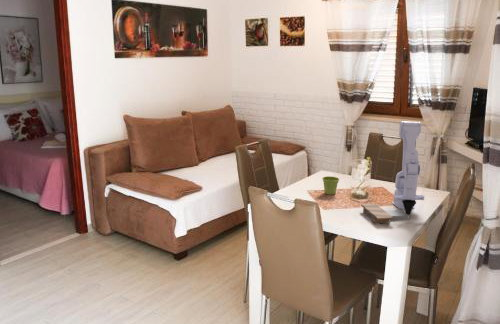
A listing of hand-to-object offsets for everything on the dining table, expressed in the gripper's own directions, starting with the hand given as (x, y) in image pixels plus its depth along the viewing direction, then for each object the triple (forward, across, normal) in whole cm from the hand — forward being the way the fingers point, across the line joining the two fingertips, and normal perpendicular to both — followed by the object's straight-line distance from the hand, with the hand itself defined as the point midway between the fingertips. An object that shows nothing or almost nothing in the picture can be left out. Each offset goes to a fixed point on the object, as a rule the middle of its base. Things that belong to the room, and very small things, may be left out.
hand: (407, 214), depth 221 cm
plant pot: (+1, -26, +40) cm, 48 cm away
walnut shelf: (+1, -16, 0) cm, 16 cm away
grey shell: (+1, -6, 0) cm, 6 cm away
